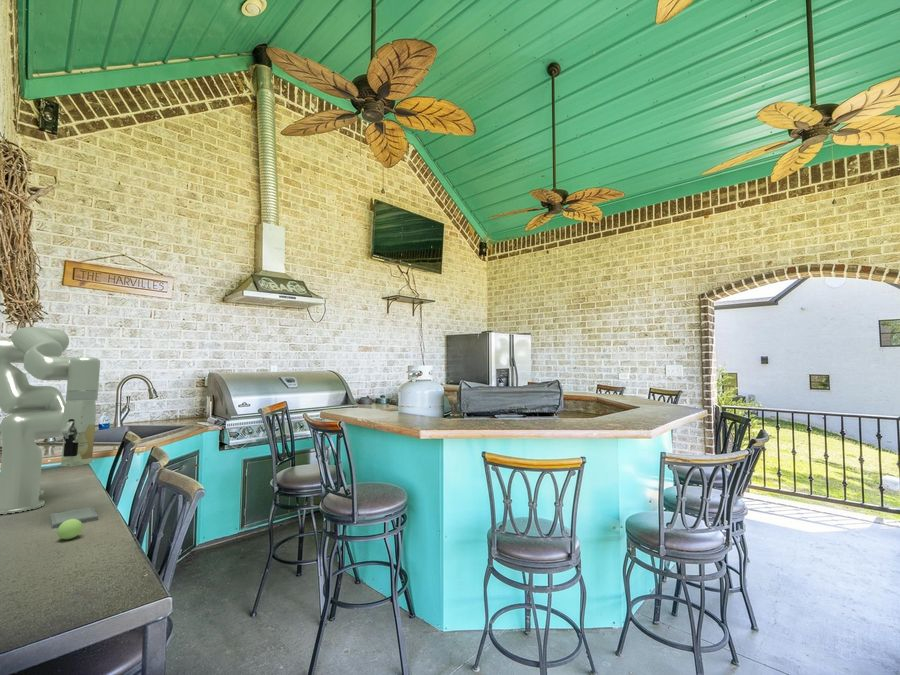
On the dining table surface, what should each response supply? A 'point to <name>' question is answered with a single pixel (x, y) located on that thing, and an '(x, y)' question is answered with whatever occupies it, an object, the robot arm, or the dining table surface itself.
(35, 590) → the dining table surface
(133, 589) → the dining table surface
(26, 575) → the dining table surface
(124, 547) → the dining table surface
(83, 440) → the skincare box
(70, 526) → the lime
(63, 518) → the metal tray
